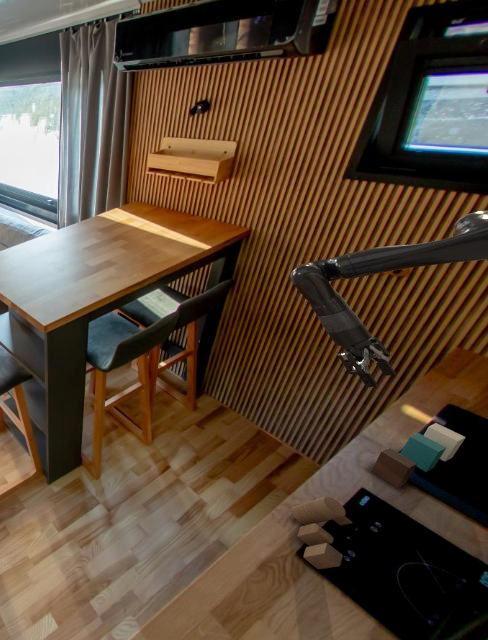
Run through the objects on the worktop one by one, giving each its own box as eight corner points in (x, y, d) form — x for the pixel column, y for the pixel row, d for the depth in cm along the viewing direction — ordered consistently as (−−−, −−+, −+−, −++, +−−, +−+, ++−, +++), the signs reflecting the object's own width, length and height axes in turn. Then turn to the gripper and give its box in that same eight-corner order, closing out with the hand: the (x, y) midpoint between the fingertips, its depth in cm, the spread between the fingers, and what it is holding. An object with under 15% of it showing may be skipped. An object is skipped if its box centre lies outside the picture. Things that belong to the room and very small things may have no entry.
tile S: (405, 452, 99) (417, 432, 96) (433, 467, 95) (446, 447, 91) (398, 456, 99) (409, 436, 95) (426, 472, 94) (438, 451, 91)
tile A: (424, 442, 101) (436, 422, 97) (452, 457, 96) (465, 437, 93) (416, 446, 100) (428, 426, 97) (444, 461, 96) (458, 441, 92)
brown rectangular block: (378, 467, 97) (389, 447, 94) (405, 483, 93) (417, 463, 89) (370, 471, 97) (381, 451, 93) (397, 488, 92) (409, 467, 89)
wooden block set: (321, 578, 81) (361, 573, 74) (278, 543, 85) (312, 535, 78) (337, 518, 90) (374, 508, 83) (297, 488, 94) (330, 477, 87)
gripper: (344, 332, 96) (385, 390, 92) (374, 315, 100) (415, 369, 96) (313, 337, 103) (349, 391, 99) (342, 321, 107) (379, 372, 103)
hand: (381, 380), depth 98 cm, fingers open, 8 cm apart
